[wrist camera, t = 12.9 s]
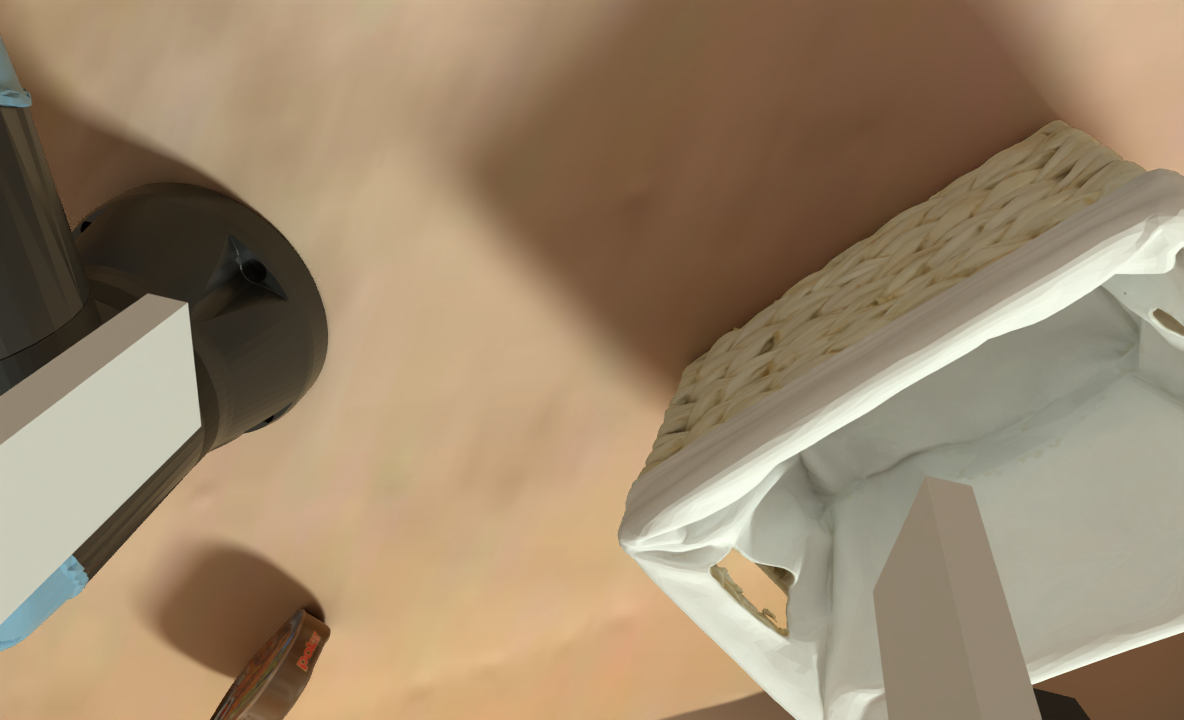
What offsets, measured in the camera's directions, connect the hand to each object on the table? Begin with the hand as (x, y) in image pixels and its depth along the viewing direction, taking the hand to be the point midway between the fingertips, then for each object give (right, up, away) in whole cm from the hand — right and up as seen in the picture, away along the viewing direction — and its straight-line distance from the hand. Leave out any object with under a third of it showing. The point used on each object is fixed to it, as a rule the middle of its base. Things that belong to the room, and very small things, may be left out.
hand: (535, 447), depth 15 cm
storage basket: (+18, +2, +29) cm, 34 cm away
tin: (-22, -20, +51) cm, 59 cm away
